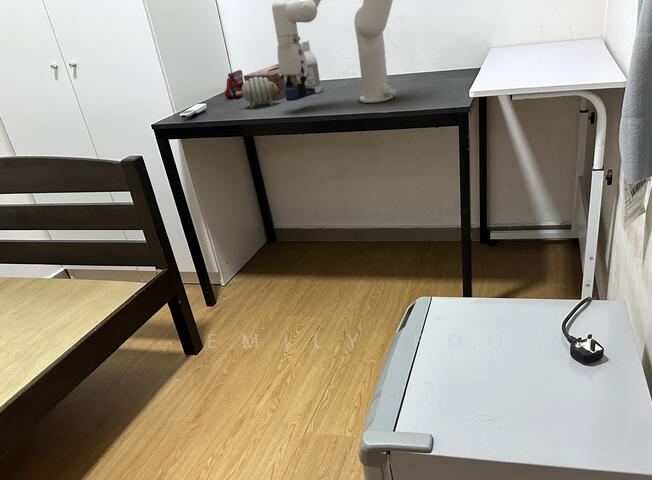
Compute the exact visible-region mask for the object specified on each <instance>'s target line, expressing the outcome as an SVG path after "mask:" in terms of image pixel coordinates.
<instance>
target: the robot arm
mask: <svg viewBox="0 0 652 480" xmlns="http://www.w3.org/2000/svg"><path fill="white" fill-rule="evenodd" d="M321 1H322V0H279V1H274V2H272V4H271V11H272V17H273V22H274V29H275V35H276V40H277V49H276V50H277V61H278V62H277V64H279V70H278V75H279V76H280V77H281V78H282V79H283V80H284V83H285V84H286V88H287V87H290V86H293V82H291V76H292V75H296V77H297V80H298V82H299V84H298V90H299V95H304V94H306V89H305V82H306V79H307V77H308V76H309V74H310V72H309V71H308V68H307V63H306V58H305V54H304V50H303V46H302V43H300V41H301V36H299V30H298V25H297V23H310V22H313V21H314V20H315V19H316V17H317V14H318V7H319V5H320V3H321ZM393 2H394V0H363V1H362V5H361V6H360V7H359V8H358V9H357V10H356V12H355V14H354V21H353V22H354V29H355V30H354V31H355V36H356V42H357V43H356V44H357V51H358V59H359V69H360V77H361V86H362V94H363V95H361V96H359V101H360V102H361V103H366V104H372V103H373V104H374V103H381V102H382V103H383V102H386V101H389V100H392V99H393V97H394V96H396V94H397V89H396V88H392V87H391V84H389V82H388V72H387V61H386V48H385V47H386V46H385V40H384V34H383V33H384V31H385V29H386V26H387V24H388V21H389V17H390V13H391V9H392V5H393ZM303 73H304V74H303ZM287 76H288V77H287ZM300 76H301V78H300Z"/></svg>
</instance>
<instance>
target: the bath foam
mask: <svg viewBox="0 0 652 480" xmlns="http://www.w3.org/2000/svg"><path fill="white" fill-rule="evenodd" d="M301 45H302V47H303V50H304V54H305V58H306V63H307V68H308V71H309V72H310V74H309V76H308V77H307V79H306V82H305V87H306V88H315V94H318V93H321V92H322V86H321V85H322V84H321V78H320V72H319V65H318V60H317V57H316V56H315V54H314V53H313V52H312V50H311V46H310V40H302V41H301ZM303 74H304V73H303Z"/></svg>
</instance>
